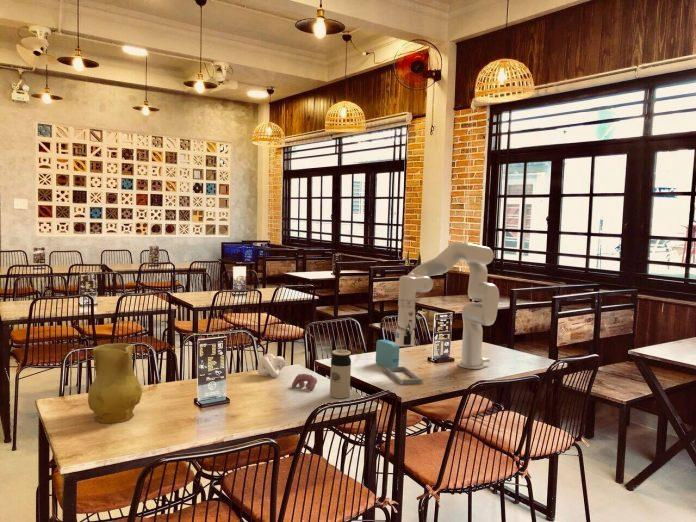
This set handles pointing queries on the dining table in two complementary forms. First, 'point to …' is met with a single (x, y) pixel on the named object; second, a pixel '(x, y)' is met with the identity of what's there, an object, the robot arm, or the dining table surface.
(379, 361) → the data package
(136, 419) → the dining table surface
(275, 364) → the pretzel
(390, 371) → the grey rectangular frame
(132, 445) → the dining table surface
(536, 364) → the dining table surface
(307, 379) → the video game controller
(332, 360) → the travel mug
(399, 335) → the module
